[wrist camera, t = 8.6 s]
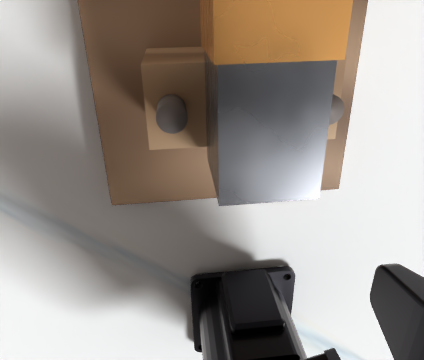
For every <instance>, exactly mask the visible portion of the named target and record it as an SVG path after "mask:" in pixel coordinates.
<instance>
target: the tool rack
mask: <svg viewBox="0 0 424 360" xmlns="http://www.w3.org/2000/svg"><path fill="white" fill-rule="evenodd" d="M367 3H368V0H353V5H352V12H351V19H350V26H349V34H348V41H347V48H346V55H345V60H337V66H336V74H335V82H334V89H333V97H332V105H331V113H330V120H329V128H328V136H327V143H326V151H325V159H324V166H323V174H322V182H321V189H320V190H330V189H339V184H340V177H341V171H342V164H343V158H344V152H345V145H346V139H347V132H348V126H349V119H350V113H351V106H352V100H353V94H354V87H355V81H356V74H357V68H358V61H359V55H360V49H361V42H362V36H363V29H364V23H365V16H366V10H367ZM78 6H79V12H80V18H81V24H82V30H83V36H84V41H85V47H86V53H87V59H88V65H89V71H90V77H91V83H92V89H93V95H94V101H95V107H96V113H97V119H98V125H99V131H100V137H101V143H102V149H103V155H104V161H105V167H106V173H107V179H108V185H109V191H110V197H111V203H112V205H122V204H136V203H150V202H164V201H178V200H192V199H205V198H217V195H216V191H215V187H214V183H213V179H212V175H211V171H210V167H209V163H208V159H207V129H206V93H205V57H204V49H203V47H202V46H201V26H200V0H78Z"/></svg>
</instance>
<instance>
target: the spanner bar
mask: <svg viewBox="0 0 424 360" xmlns="http://www.w3.org/2000/svg"><path fill="white" fill-rule="evenodd" d="M352 5H353V0H200V26H201V46H202V47H203V49H204V57H205V93H206V129H207V159H208V163H209V167H210V171H211V175H212V179H213V183H214V187H215V191H216V195H217V199H218V204H219V206H228V205H241V204H255V203H268V202H282V201H295V200H309V199H319V197H320V189H321V182H322V174H323V166H324V159H325V151H326V143H327V136H328V128H329V120H330V113H331V105H332V97H333V89H334V82H335V74H336V66H337V60H345V55H346V48H347V41H348V34H349V26H350V19H351V12H352Z"/></svg>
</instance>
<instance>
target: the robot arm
mask: <svg viewBox="0 0 424 360" xmlns="http://www.w3.org/2000/svg"><path fill="white" fill-rule="evenodd" d="M285 274H288V275H286V276H284V275H285ZM197 282H201V283H200V284H196V283H197ZM294 282H295V273H294V271H293V269H292V268H291V267H287V266H286V267H274V268H263V269H252V270H241V271H230V272H219V273H208V274H198V275H194V276H193V277H192V278H191V280H190V285H191V302H192V318H193V334H194V348H195V350H196V351H197V352H202V355H203V360H341V359H340V357H339V355H338V354H337V352H336V350H335V348H332V349H329V350H326V351H324V353H323V354H319V355H316V356H313V357H310V358H307V356H306V354H305V351H304V349H303V346H302V343H301V341H300V338H299V336H298V333H297V330H296V328H295V325H294V323H293V320H292V317H291V310H292V301H293V292H294ZM370 302H371V305H372V308H373V310H374V313H375V315H376V317H377V320H378V322H379V325H380V327H381V329H382V332H383V334H384V336H385V339H386V341H387V344H388V346H389V348H390V351H391V353H392V355H393V358H394V360H424V277H422V276H420V275H418V274H416V273H415V272H413V271H411V270H409V269H407V268H405V267H404V266H402V265H400V264H385V265H380V266H378V267H377V268H376V271H375V275H374V279H373V283H372V288H371V292H370Z"/></svg>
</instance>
